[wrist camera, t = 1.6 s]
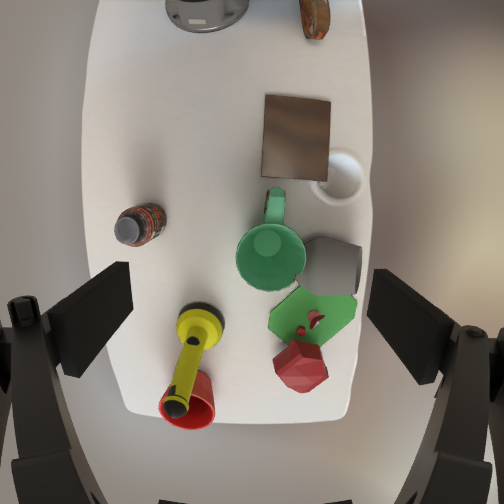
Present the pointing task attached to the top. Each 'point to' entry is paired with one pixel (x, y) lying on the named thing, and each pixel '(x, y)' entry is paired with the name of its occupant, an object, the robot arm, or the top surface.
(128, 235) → the supplement bottle
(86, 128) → the top surface
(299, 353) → the red green faceted piece
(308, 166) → the placemat
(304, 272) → the cup
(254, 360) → the top surface
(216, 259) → the top surface
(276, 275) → the mug
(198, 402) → the flower pot
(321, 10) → the tin
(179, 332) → the flashlight
